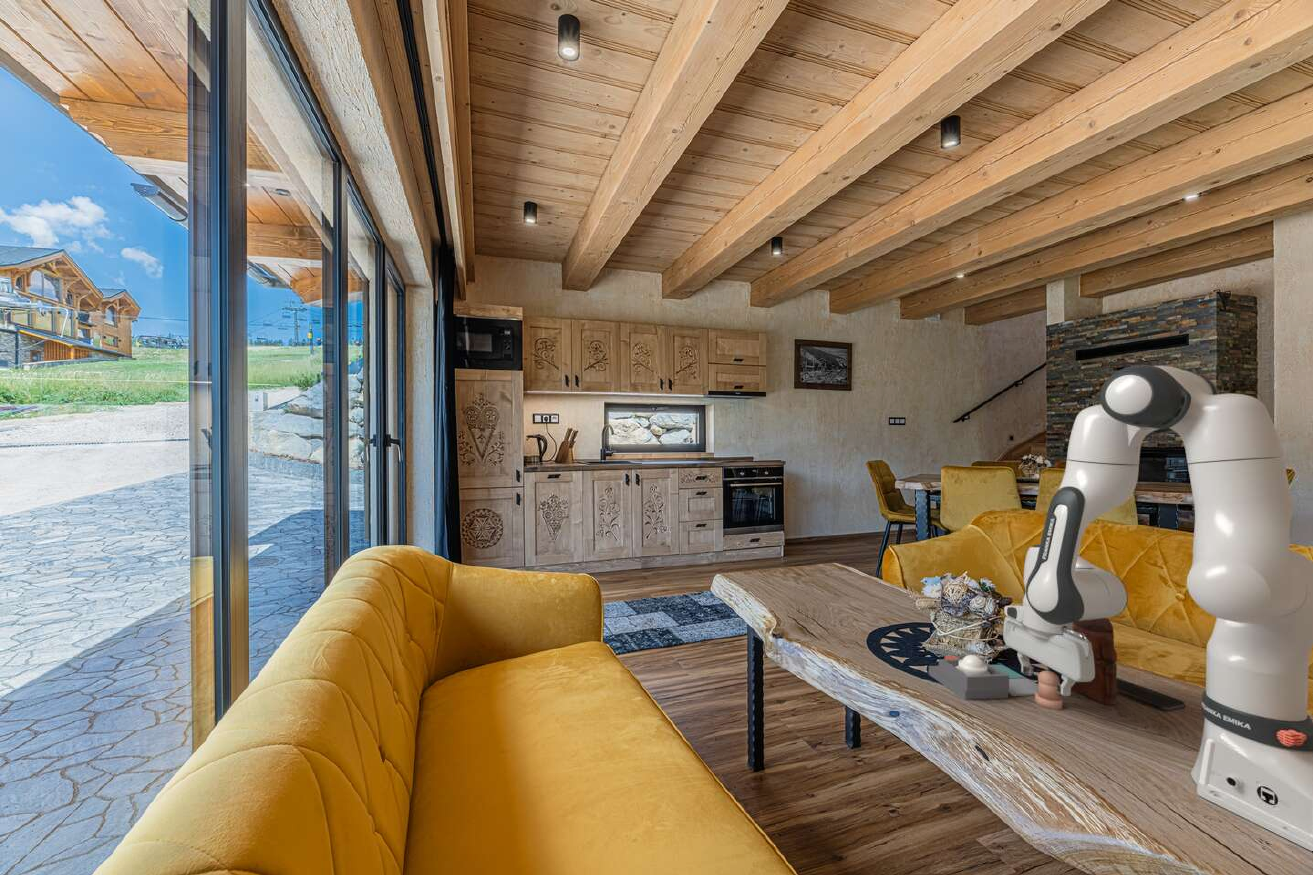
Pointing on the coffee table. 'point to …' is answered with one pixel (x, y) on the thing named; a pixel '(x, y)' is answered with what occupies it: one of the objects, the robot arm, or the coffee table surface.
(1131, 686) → the phone
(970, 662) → the dome
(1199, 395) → the robot arm
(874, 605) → the coffee table surface
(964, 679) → the dome base
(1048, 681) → the pawn
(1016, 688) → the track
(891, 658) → the coffee table surface
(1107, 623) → the brown leather bag
